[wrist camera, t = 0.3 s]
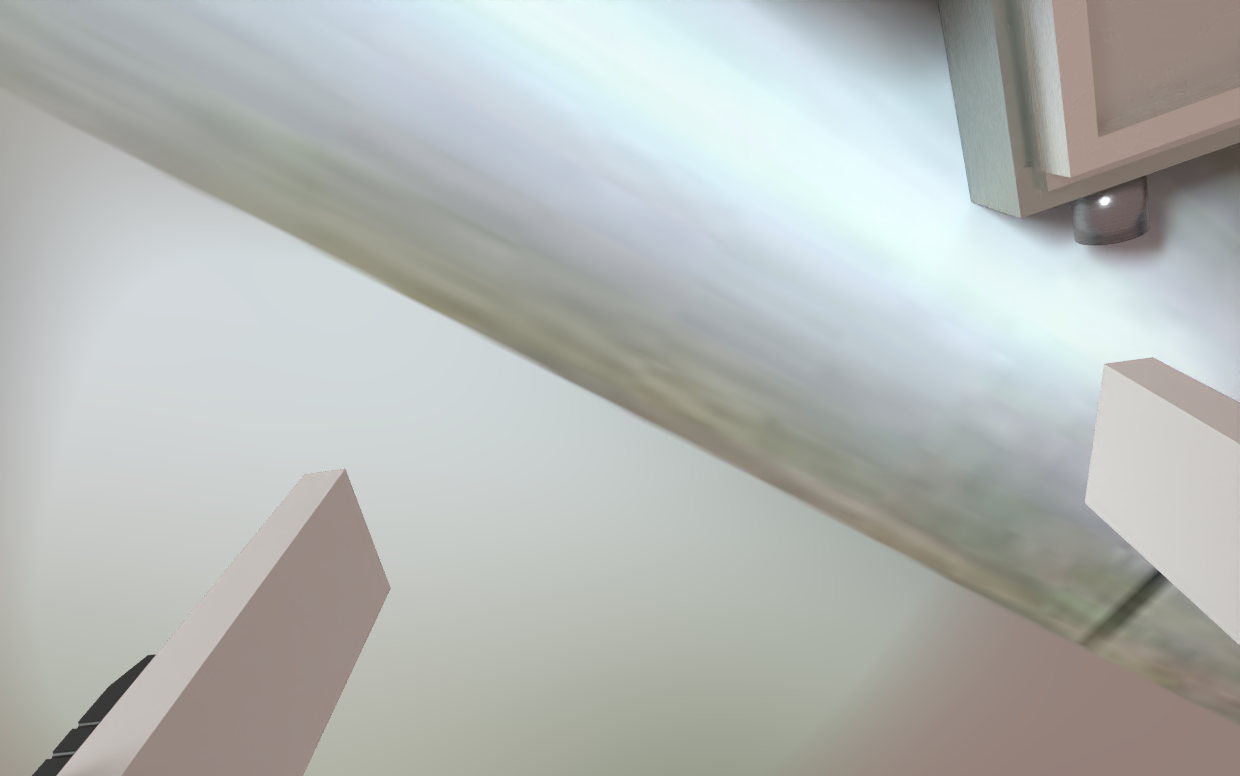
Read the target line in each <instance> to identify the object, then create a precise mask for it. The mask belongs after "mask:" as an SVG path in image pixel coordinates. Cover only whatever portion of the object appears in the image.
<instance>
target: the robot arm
mask: <svg viewBox="0 0 1240 776" xmlns="http://www.w3.org/2000/svg"><path fill="white" fill-rule="evenodd" d="M1085 504H1087V505H1088V506H1089V507H1090V508H1091V509H1092V510H1093V511H1094V512H1095V513H1096V514H1097V515H1099V516H1100V517H1101V518H1102V519H1103V520H1104V521H1105V522H1106V523H1107V524H1108V525H1109V526H1110V527H1112V528H1113V529H1114V530H1115V531H1116V532H1117V533H1118V534H1119V535H1120V536H1121V537H1122V538H1124V539H1125V540H1126V541H1127V542H1128V543H1129V544H1130V545H1131V546H1132V547H1133V548H1134V549H1135V550H1137V551H1138V552H1139V553H1140V554H1141V555H1142V556H1143V557H1144V558H1145V559H1146V560H1147V561H1149V562H1150V563H1151V564H1152V565H1153V566H1154V567H1155V568H1156V569H1157V570H1158V571H1159V572H1161V573H1162V574H1163V575H1164V576H1165V577H1166V578H1167V579H1168V580H1169V581H1170V582H1171V583H1172V584H1174V585H1175V586H1176V587H1177V588H1178V589H1179V590H1180V591H1181V592H1182V593H1183V594H1184V595H1186V596H1187V597H1188V598H1189V599H1190V600H1191V601H1192V602H1193V603H1194V604H1195V605H1196V606H1197V607H1199V608H1200V609H1201V610H1202V611H1203V612H1204V613H1205V614H1206V615H1207V616H1208V617H1209V618H1211V619H1212V620H1213V621H1214V622H1215V623H1216V624H1217V625H1218V626H1219V627H1220V628H1221V629H1222V630H1224V631H1225V632H1226V633H1227V634H1228V635H1229V636H1230V637H1231V638H1232V639H1233V640H1234V641H1236V642H1237V643H1238V644H1239V645H1240V403H1239V402H1237V401H1235V400H1233V399H1231V398H1229V397H1227V396H1226V395H1224V394H1222V393H1220V392H1218V391H1216V390H1214V389H1212V388H1210V387H1208V386H1206V385H1205V384H1203V383H1201V382H1199V381H1197V380H1195V379H1193V378H1191V377H1189V376H1187V375H1185V374H1184V373H1182V372H1180V371H1178V370H1176V369H1174V368H1172V367H1170V366H1168V365H1166V364H1164V363H1163V362H1161V361H1159V360H1157V359H1155V358H1153V357H1152V358H1145V359H1138V360H1130V361H1123V362H1116V363H1109V364H1104V371H1103V378H1102V385H1101V392H1100V399H1099V406H1098V413H1097V420H1096V427H1095V434H1094V441H1093V448H1092V455H1091V462H1090V469H1089V476H1088V483H1087V490H1086V497H1085ZM389 591H390V586H389V583H388V581H387V578H386V575H385V572H384V570H383V567H382V565H381V562H380V559H379V557H378V554H377V551H376V549H375V546H374V544H373V541H372V538H371V535H370V533H369V530H368V528H367V525H366V522H365V520H364V517H363V514H362V512H361V509H360V507H359V504H358V502H357V498H356V496H355V493H354V491H353V488H352V485H351V483H350V480H349V477H348V475H347V472H346V470H345V469H340V470H333V471H325V472H318V473H311V474H305V475H304V476H303V477H302V478H301V479H300V481H299V482H298V483H297V484H296V485H295V487H294V488H293V489H292V490H291V492H290V493H289V494H288V495H287V496H286V498H285V499H284V500H283V501H282V502H281V504H280V505H279V506H278V507H277V509H276V510H275V511H274V512H273V513H272V515H271V516H270V517H269V518H268V520H267V521H266V522H265V523H264V524H263V526H262V527H261V528H260V529H259V530H258V532H257V533H256V534H255V535H254V536H253V538H252V539H251V540H250V541H249V543H248V544H247V545H246V546H245V547H244V549H243V550H242V551H241V552H240V554H239V555H238V556H237V557H236V558H235V560H234V561H233V562H232V563H231V565H230V566H229V567H228V568H227V569H226V570H225V572H224V573H223V574H222V575H221V577H220V578H219V579H218V580H217V581H216V583H215V584H214V585H213V586H212V587H211V589H210V590H209V591H208V592H207V594H206V595H205V596H204V597H203V598H202V600H201V601H200V602H199V603H198V605H197V606H196V607H195V608H194V609H193V611H192V612H191V613H190V614H189V616H188V617H187V618H186V619H185V620H184V621H183V623H182V624H181V625H180V626H179V628H178V629H177V630H176V631H175V632H174V634H173V635H172V636H171V637H170V638H169V640H168V641H167V642H166V643H165V645H164V646H163V647H162V648H161V649H160V651H159V652H158V653H157V654H156V655H148V656H146V657H145V658H144V659H143V660H141V661H140V662H139V663H138V664H137V665H135V666H134V667H133V668H131V669H130V670H129V671H128V672H126V673H125V674H124V675H123V676H121V677H120V678H119V679H118V680H117V681H115V682H114V683H113V684H111V685H110V686H109V687H108V688H107V689H106V691H105V692H104V693H103V694H102V695H101V696H100V697H99V698H98V700H97V701H96V702H95V703H94V704H93V706H92V707H91V708H90V709H89V710H88V711H87V713H86V714H85V715H84V716H83V717H82V718H81V719H80V721H79V722H78V723H79V726H78V728H77V729H72V730H71V731H70V732H69V733H68V735H67V736H66V737H65V738H64V739H63V741H62V742H61V743H60V744H59V745H58V746H57V747H56V749H55V750H54V751H53V757H52V759H47V760H45V762H44V763H43V764H42V765H41V766H40V767H39V768H38V770H37V771H36V772H35V773H34V774H33V775H32V776H303V774H304V772H305V770H306V768H307V766H308V764H309V762H310V759H311V757H312V755H313V753H314V751H315V749H316V747H317V744H318V742H319V740H320V738H321V736H322V734H323V732H324V730H325V727H326V725H327V723H328V721H329V719H330V716H331V715H332V712H333V710H334V708H335V706H336V704H337V702H338V700H339V698H340V695H341V693H342V691H343V689H344V686H345V685H346V683H347V680H348V678H349V676H350V674H351V672H352V670H353V668H354V666H355V663H356V661H357V659H358V657H359V655H360V653H361V651H362V648H363V646H364V644H365V642H366V640H367V638H368V636H369V633H370V631H371V629H372V627H373V625H374V623H375V620H376V619H377V616H378V614H379V612H380V610H381V608H382V606H383V604H384V601H385V599H386V597H387V595H388V593H389Z"/></svg>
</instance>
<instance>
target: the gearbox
mask: <svg viewBox="0 0 1240 776" xmlns="http://www.w3.org/2000/svg"><path fill="white" fill-rule="evenodd" d="M938 3H939V10H940V16H941V22H942V28H943V34H944V40H945V46H946V52H947V58H948V64H949V70H950V76H951V82H952V89H953V95H954V101H955V107H956V113H957V119H958V125H959V131H960V137H961V143H962V149H963V155H964V161H965V167H966V174H967V180H968V186H969V192H970V198H971V202H973V203H976V204H979V205H982V206H985V207H988V208H991V209H994V210H997V211H1000V212H1003V213H1006V214H1009V215H1012V216H1015V217H1018V218H1024V217H1027V216H1030V215H1033V214H1035V213H1038V212H1041V211H1044V210H1047V209H1050V208H1053V207H1056V206H1058V205H1061V204H1064V203H1067V202H1070V201H1071V208H1072V217H1073V227H1074V236H1075V241H1076V242H1077V243H1080V244H1083V245H1107V244H1114V243H1119V242H1124V241H1127V240H1131V239H1134V238H1136V237H1139V236H1141V235H1143V234H1144V233H1146V232H1147V231H1148V230H1149V228H1150V226H1149V210H1148V194H1147V178H1146V175H1148V174H1151V173H1153V172H1156V171H1159V170H1162V169H1165V168H1168V167H1171V166H1174V165H1177V164H1179V163H1182V162H1185V161H1188V160H1191V159H1194V158H1197V157H1200V156H1202V155H1205V154H1208V153H1211V152H1214V151H1217V150H1220V149H1223V148H1225V147H1228V146H1231V145H1234V144H1237V143H1240V0H938Z"/></svg>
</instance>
